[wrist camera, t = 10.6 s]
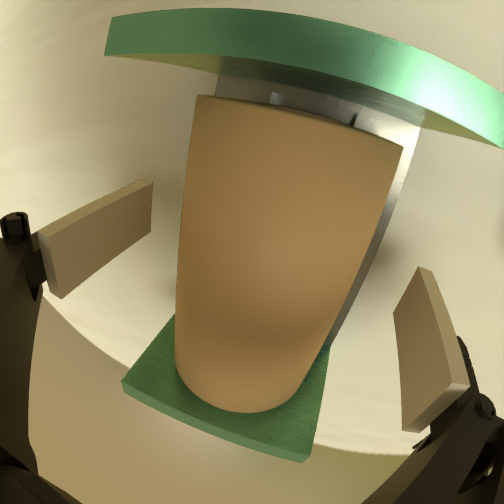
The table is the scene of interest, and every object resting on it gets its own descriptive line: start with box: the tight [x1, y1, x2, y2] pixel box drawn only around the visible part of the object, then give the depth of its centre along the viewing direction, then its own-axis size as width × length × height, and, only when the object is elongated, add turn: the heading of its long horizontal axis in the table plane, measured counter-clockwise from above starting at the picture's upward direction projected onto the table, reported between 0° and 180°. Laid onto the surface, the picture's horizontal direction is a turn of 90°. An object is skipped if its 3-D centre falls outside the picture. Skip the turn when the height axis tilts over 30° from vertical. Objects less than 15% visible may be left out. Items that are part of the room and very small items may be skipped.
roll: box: [175, 95, 404, 413], centre depth 12 cm, size 12×7×7 cm, turn 169°
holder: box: [104, 8, 504, 463], centre depth 12 cm, size 16×10×9 cm, turn 169°
